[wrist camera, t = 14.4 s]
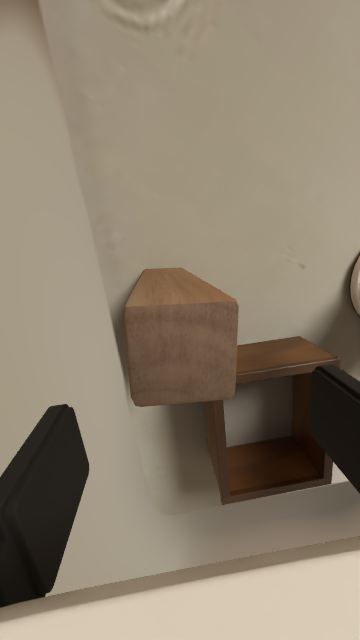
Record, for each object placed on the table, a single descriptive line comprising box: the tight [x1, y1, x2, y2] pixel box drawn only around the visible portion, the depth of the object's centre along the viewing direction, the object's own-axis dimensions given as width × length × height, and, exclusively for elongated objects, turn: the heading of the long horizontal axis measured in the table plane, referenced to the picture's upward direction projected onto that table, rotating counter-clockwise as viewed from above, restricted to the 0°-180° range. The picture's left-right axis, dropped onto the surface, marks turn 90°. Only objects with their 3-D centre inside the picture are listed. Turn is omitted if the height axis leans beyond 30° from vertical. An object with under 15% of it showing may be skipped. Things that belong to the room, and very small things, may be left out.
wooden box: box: [204, 336, 341, 505], centre depth 29 cm, size 13×16×7 cm
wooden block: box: [123, 268, 239, 407], centre depth 19 cm, size 9×4×18 cm, turn 2°
